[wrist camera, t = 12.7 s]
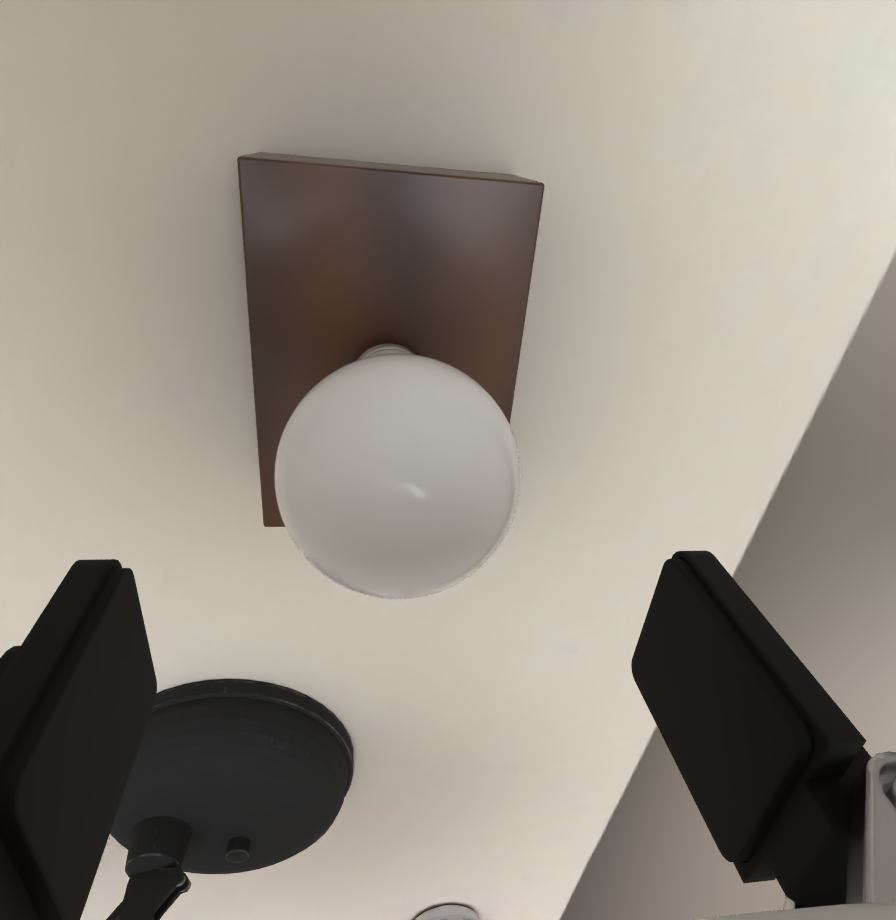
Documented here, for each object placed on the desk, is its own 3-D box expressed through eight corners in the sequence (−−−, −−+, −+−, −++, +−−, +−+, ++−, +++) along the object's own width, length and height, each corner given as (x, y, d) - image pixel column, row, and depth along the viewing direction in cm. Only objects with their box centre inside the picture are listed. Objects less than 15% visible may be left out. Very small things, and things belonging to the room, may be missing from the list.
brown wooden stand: (277, 471, 29) (263, 527, 25) (259, 152, 23) (236, 156, 19) (476, 473, 31) (494, 526, 27) (513, 174, 24) (545, 183, 20)
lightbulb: (369, 474, 25) (374, 692, 15) (265, 352, 22) (189, 526, 12) (500, 391, 24) (596, 567, 14) (409, 250, 21) (452, 353, 11)
